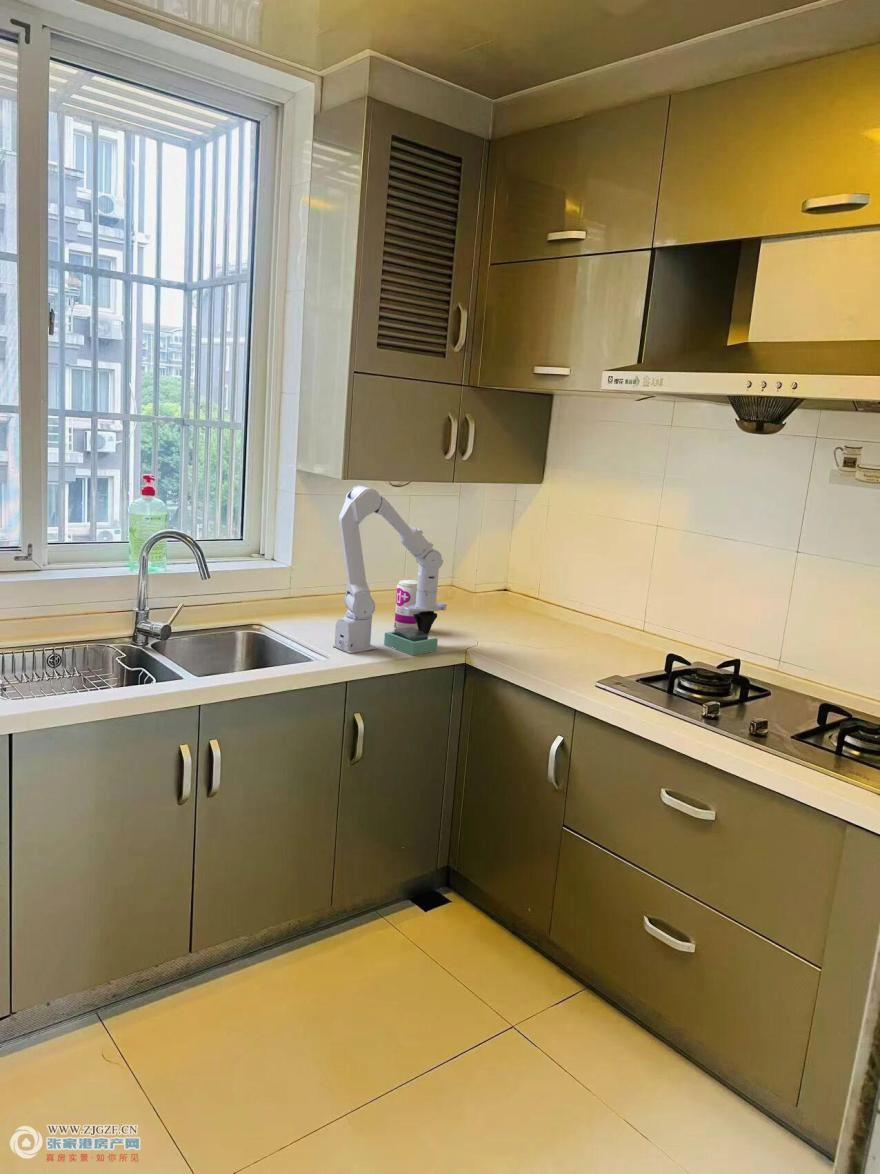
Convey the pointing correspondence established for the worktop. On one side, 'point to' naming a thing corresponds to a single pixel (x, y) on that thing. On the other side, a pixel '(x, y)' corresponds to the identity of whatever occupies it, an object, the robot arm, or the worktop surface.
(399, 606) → the supplement can
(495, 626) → the worktop surface
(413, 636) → the block
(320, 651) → the worktop surface
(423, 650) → the dock
